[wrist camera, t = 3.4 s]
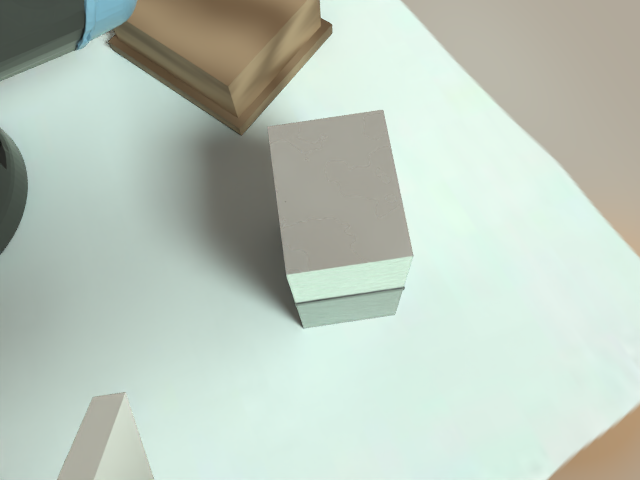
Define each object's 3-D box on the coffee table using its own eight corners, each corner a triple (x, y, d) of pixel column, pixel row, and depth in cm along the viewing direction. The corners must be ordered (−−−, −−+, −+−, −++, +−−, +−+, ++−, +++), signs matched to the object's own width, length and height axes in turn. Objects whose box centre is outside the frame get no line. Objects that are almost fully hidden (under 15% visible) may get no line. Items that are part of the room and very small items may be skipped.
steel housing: (303, 329, 40) (285, 275, 28) (288, 215, 42) (266, 126, 31) (395, 315, 40) (414, 256, 28) (374, 203, 42) (383, 108, 31)
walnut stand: (241, 135, 45) (229, 97, 40) (112, 50, 48) (87, 5, 43) (332, 32, 47) (330, -15, 43) (205, -42, 51) (190, -94, 46)
